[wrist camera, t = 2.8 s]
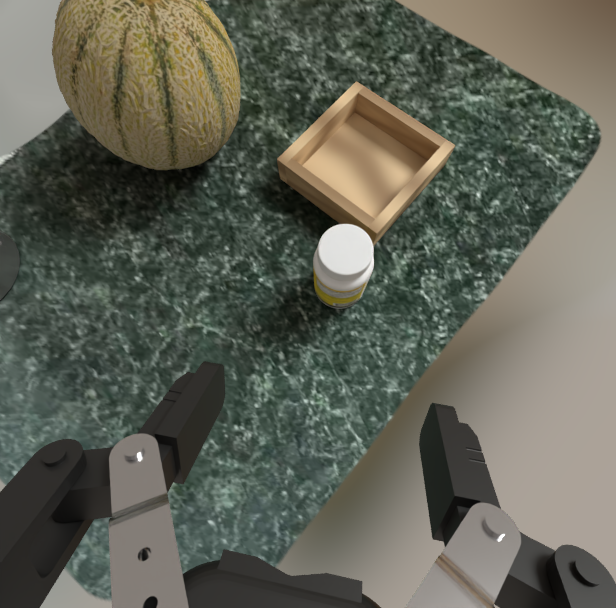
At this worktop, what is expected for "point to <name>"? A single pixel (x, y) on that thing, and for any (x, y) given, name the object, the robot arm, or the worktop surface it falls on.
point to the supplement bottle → (342, 265)
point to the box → (364, 161)
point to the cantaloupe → (148, 78)
